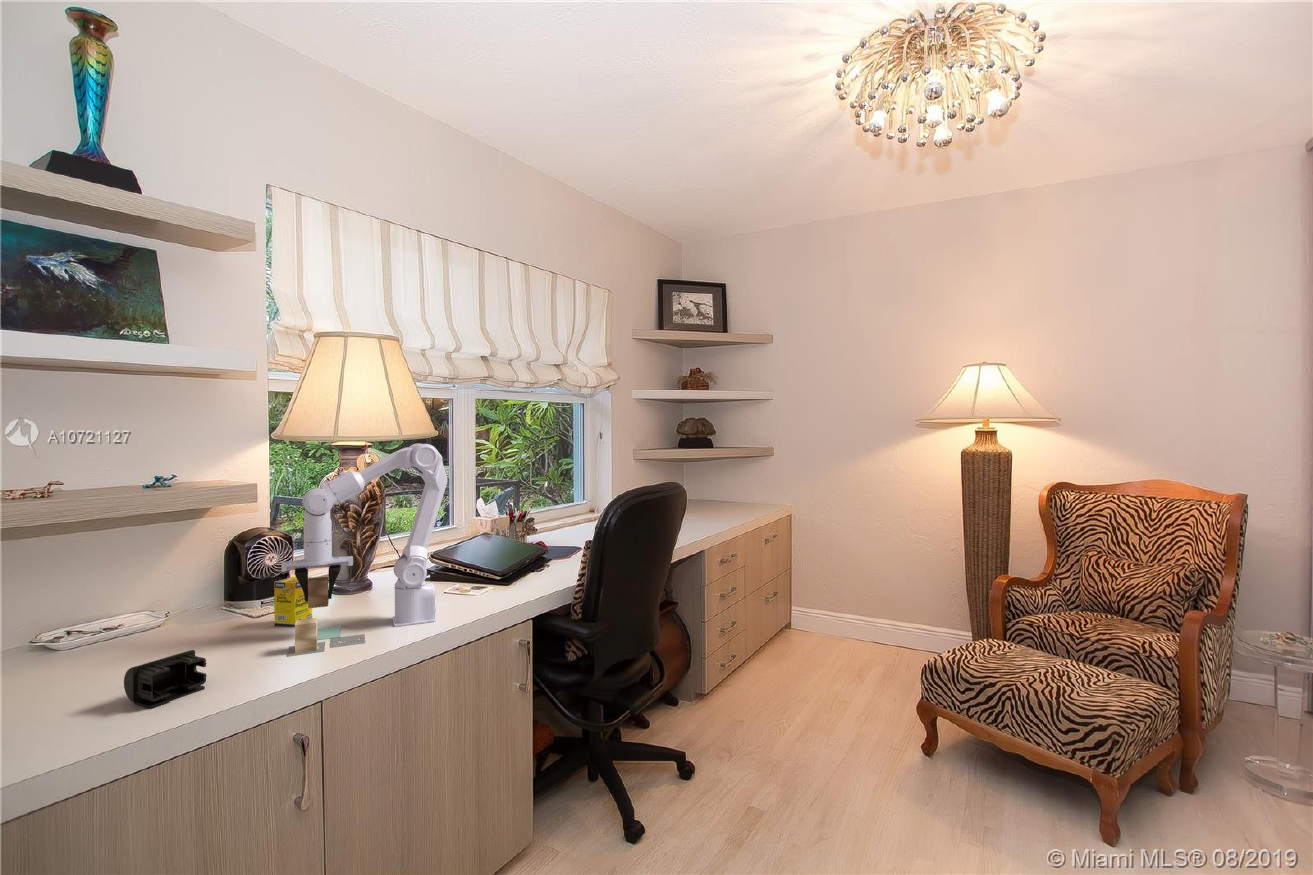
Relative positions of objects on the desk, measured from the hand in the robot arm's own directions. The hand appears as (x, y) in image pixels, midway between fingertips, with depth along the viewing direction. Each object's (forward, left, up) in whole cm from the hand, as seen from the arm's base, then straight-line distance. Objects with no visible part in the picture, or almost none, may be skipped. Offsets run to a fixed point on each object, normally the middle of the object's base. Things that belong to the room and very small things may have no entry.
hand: (318, 599), depth 147 cm
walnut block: (0, 0, -1) cm, 1 cm away
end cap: (+23, +26, -9) cm, 36 cm away
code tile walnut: (-6, +8, -8) cm, 13 cm away
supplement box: (+6, -13, -9) cm, 17 cm away
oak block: (+2, +10, -8) cm, 13 cm away
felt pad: (0, 0, -8) cm, 8 cm away
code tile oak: (+2, +10, -8) cm, 13 cm away
